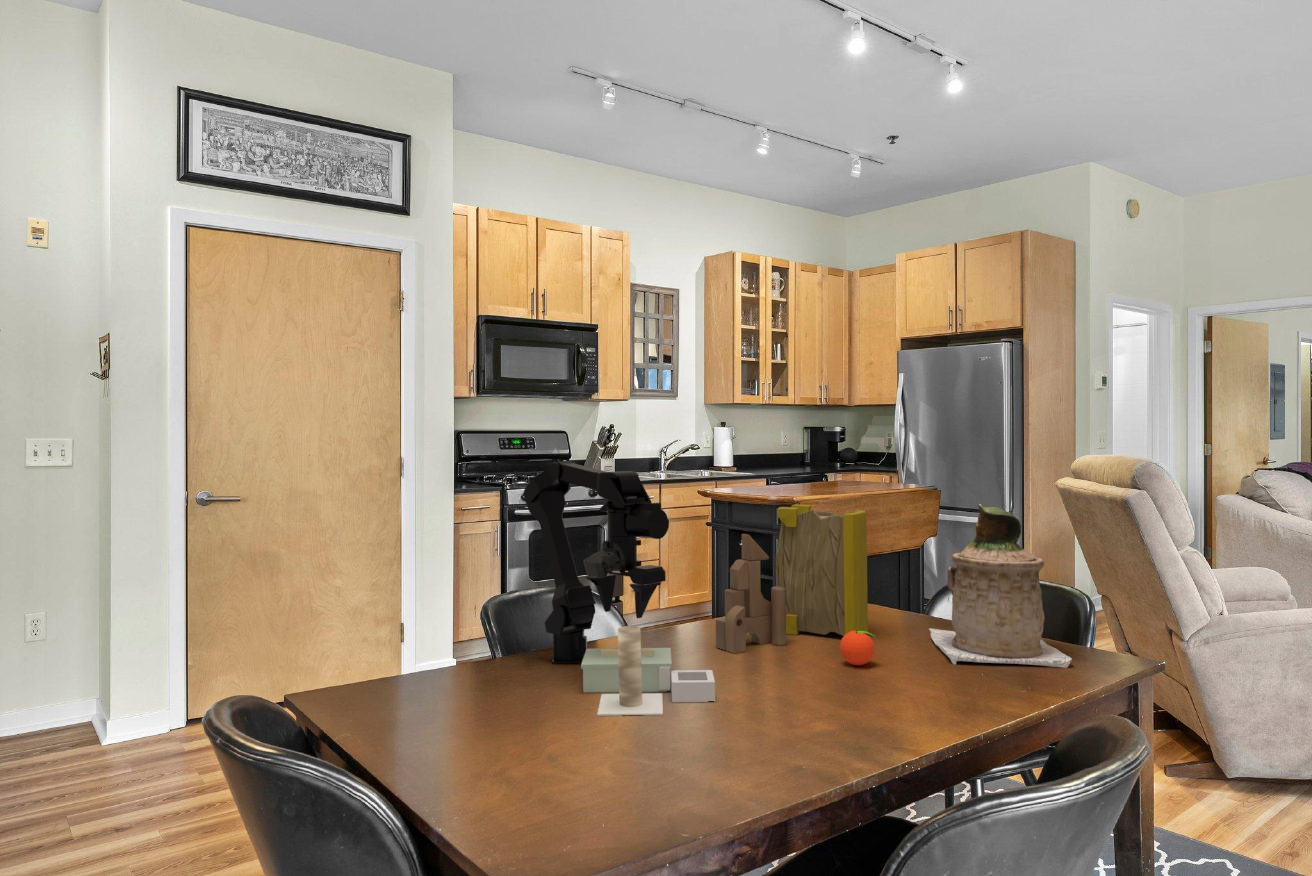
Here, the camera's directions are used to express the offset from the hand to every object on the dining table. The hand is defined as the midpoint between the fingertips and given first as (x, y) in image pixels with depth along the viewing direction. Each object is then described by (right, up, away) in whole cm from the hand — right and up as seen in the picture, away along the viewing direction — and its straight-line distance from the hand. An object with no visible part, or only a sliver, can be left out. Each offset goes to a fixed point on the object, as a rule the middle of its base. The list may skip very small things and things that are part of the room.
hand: (622, 614), depth 161 cm
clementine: (+48, -12, +6) cm, 50 cm away
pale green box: (+5, -12, -8) cm, 15 cm away
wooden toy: (+28, -12, +22) cm, 38 cm away
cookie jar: (+80, -12, +15) cm, 82 cm away
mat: (+2, -12, -18) cm, 22 cm away
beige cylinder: (+2, -12, -18) cm, 22 cm away
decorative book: (+46, -12, +34) cm, 59 cm away
